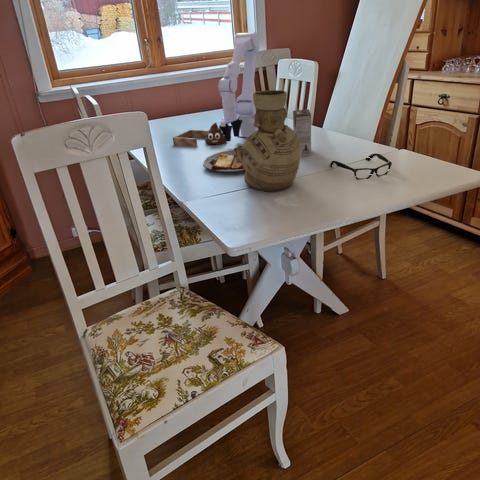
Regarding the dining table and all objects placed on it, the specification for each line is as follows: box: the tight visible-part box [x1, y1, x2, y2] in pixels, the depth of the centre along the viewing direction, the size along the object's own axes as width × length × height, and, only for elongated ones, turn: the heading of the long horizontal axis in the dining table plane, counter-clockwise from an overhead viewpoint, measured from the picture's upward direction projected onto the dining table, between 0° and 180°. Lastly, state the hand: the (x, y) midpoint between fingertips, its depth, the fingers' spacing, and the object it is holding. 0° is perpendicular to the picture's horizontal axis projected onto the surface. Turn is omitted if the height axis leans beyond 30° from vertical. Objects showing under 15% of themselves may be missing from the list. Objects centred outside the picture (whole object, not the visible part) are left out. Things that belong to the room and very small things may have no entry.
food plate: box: [202, 149, 245, 173], centre depth 162 cm, size 25×23×4 cm
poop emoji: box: [204, 122, 227, 146], centre depth 190 cm, size 10×8×9 cm
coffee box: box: [292, 109, 312, 157], centre depth 164 cm, size 9×6×16 cm
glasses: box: [329, 153, 393, 180], centre depth 145 cm, size 17×18×5 cm
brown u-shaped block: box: [172, 129, 209, 148], centre depth 197 cm, size 13×15×4 cm
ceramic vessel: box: [233, 89, 301, 193], centre depth 133 cm, size 19×21×30 cm
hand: (232, 138), depth 187 cm, fingers open, 7 cm apart
